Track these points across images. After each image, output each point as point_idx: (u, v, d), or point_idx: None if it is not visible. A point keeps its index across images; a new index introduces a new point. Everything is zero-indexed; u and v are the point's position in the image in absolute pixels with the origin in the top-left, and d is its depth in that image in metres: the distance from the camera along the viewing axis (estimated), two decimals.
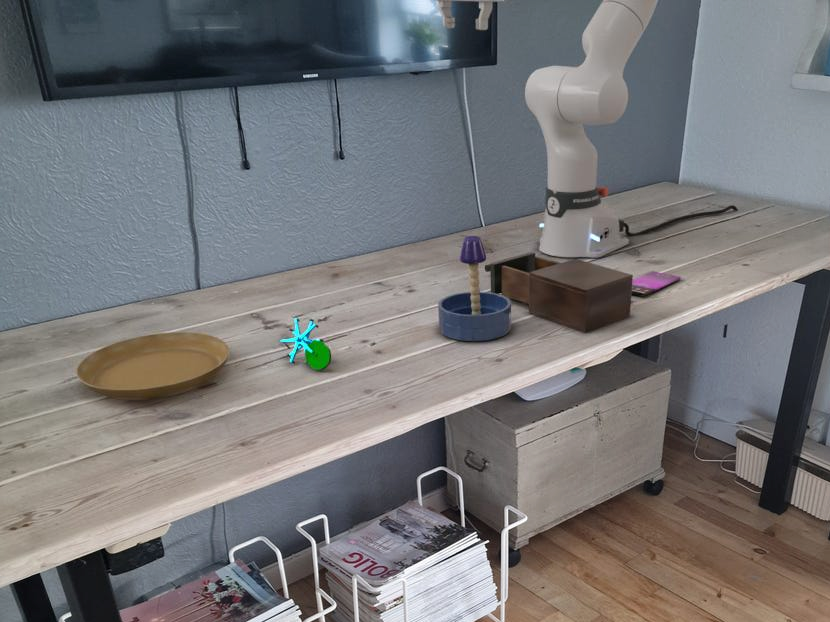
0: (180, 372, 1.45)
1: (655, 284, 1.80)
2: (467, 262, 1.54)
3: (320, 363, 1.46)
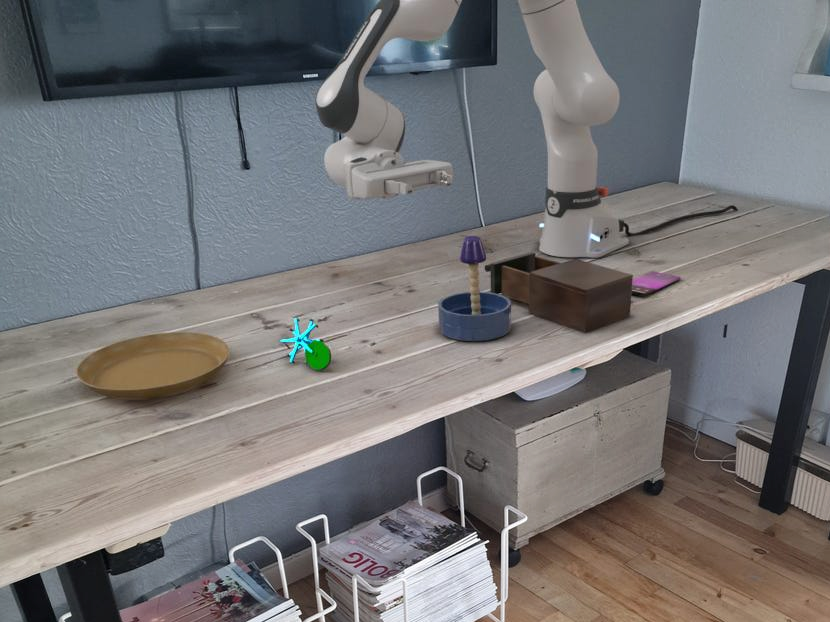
0: (180, 372, 1.45)
1: (655, 284, 1.80)
2: (467, 262, 1.54)
3: (320, 363, 1.46)
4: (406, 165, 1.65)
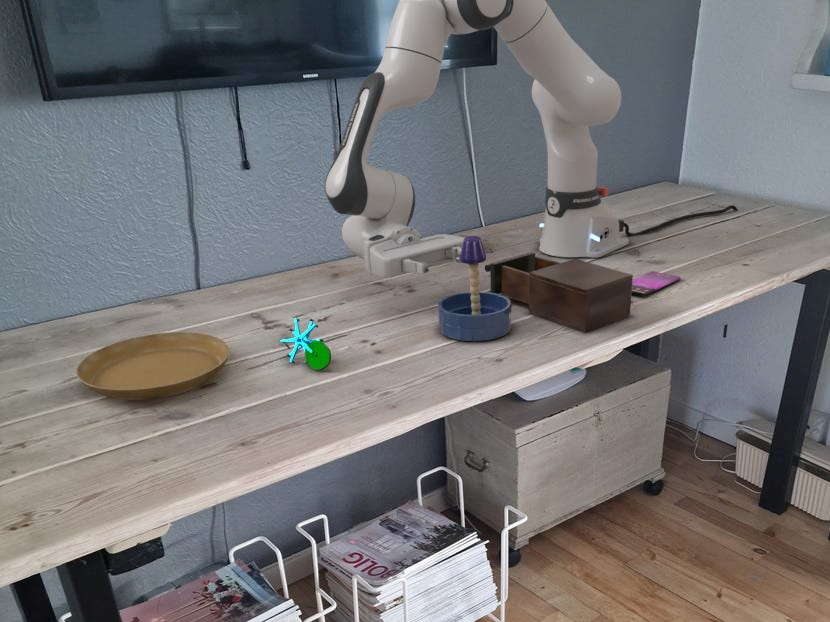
0: (180, 372, 1.45)
1: (655, 284, 1.80)
2: (467, 262, 1.54)
3: (320, 363, 1.46)
4: (422, 241, 1.69)
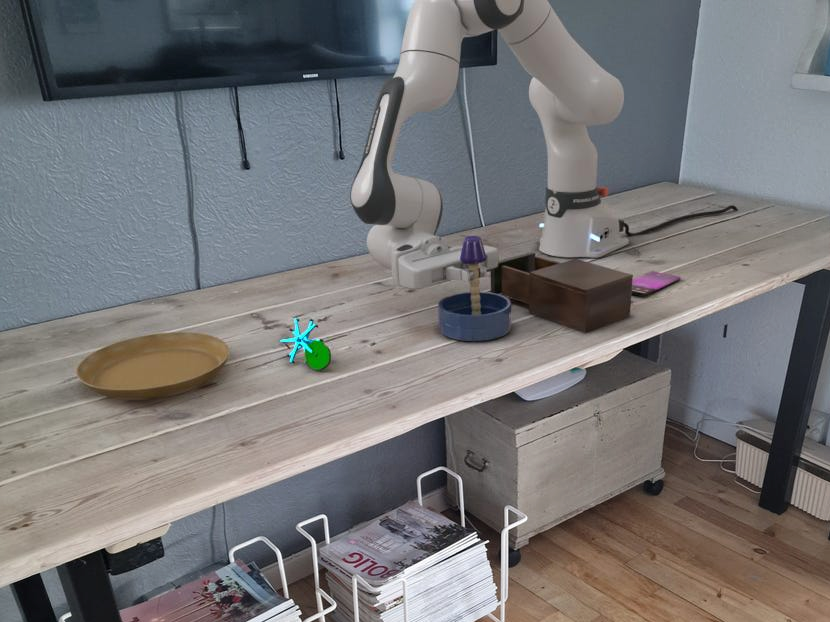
0: (180, 372, 1.45)
1: (655, 284, 1.80)
2: (467, 262, 1.54)
3: (320, 363, 1.46)
4: (451, 251, 1.63)
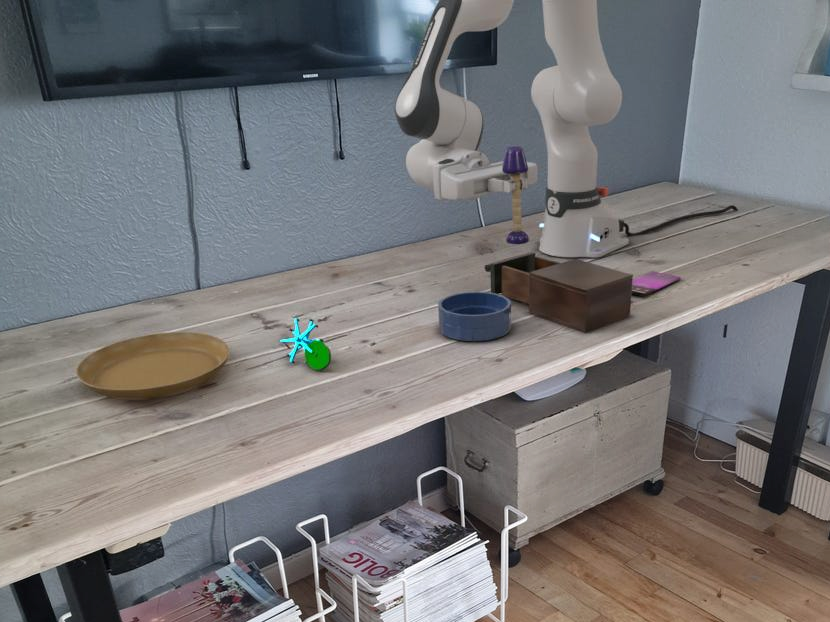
0: (180, 372, 1.45)
1: (655, 284, 1.80)
2: (510, 172, 1.56)
3: (320, 363, 1.46)
4: (492, 166, 1.66)
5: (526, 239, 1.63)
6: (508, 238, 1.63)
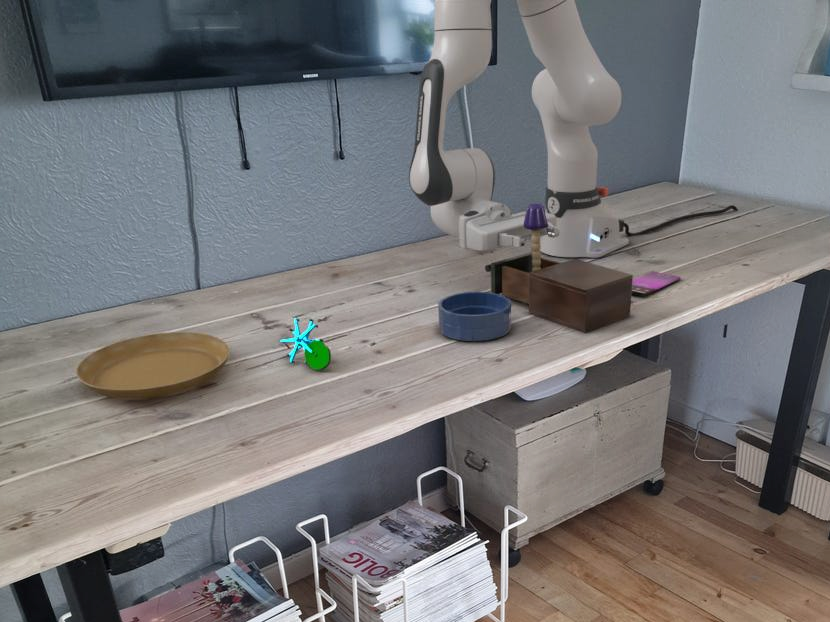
0: (180, 372, 1.45)
1: (655, 284, 1.80)
2: (530, 228, 1.66)
3: (320, 363, 1.46)
4: (513, 217, 1.76)
5: None
6: None
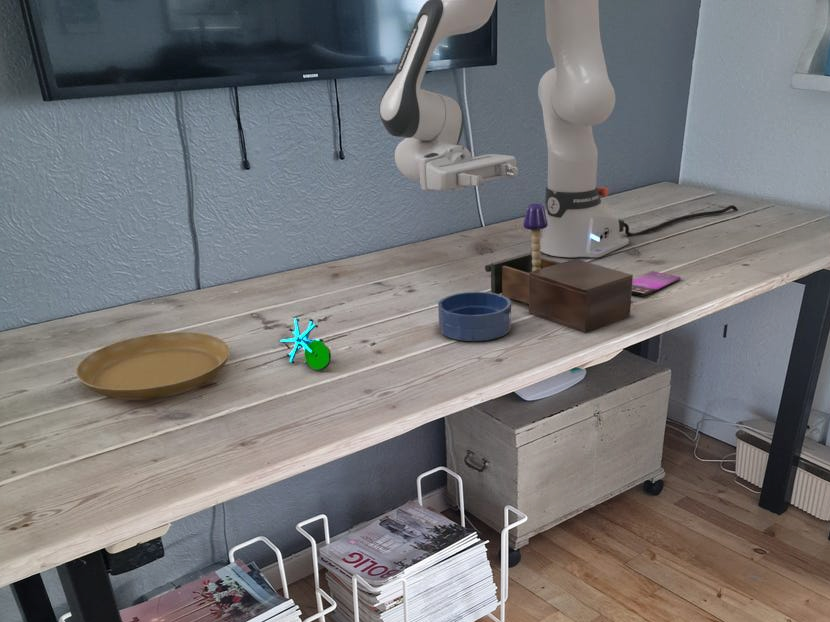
0: (180, 372, 1.45)
1: (655, 284, 1.80)
2: (530, 228, 1.66)
3: (320, 363, 1.46)
4: (473, 159, 1.79)
5: None
6: None
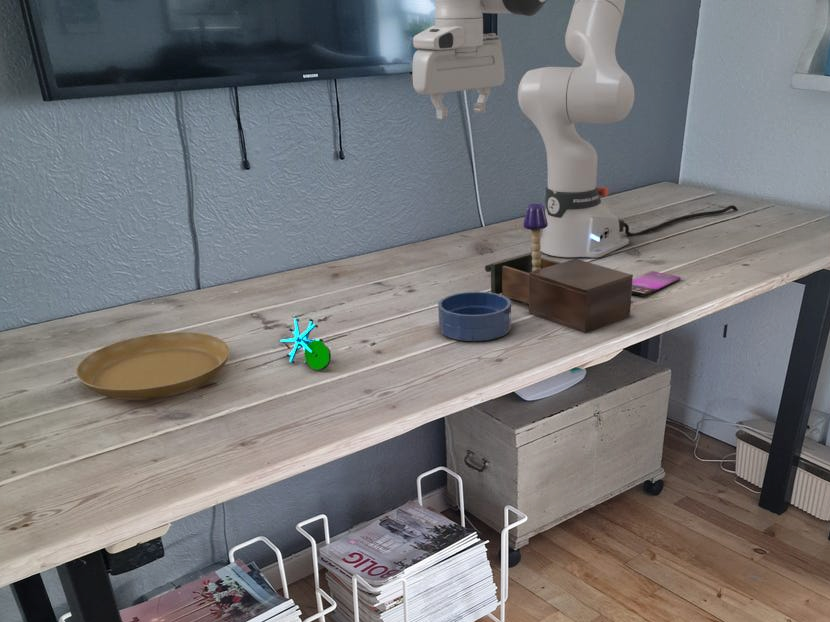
0: (180, 372, 1.45)
1: (655, 284, 1.80)
2: (530, 228, 1.66)
3: (320, 363, 1.46)
4: (476, 57, 1.64)
5: None
6: None
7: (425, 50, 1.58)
